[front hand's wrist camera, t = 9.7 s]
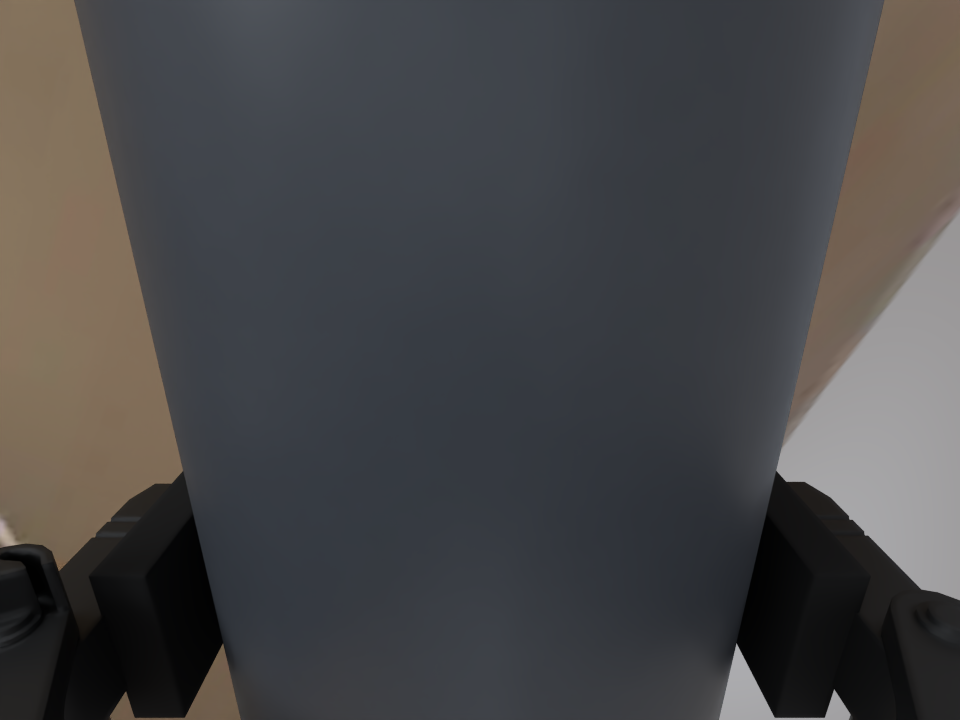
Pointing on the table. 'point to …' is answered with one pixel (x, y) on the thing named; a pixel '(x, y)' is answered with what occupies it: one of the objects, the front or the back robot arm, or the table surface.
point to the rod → (479, 329)
